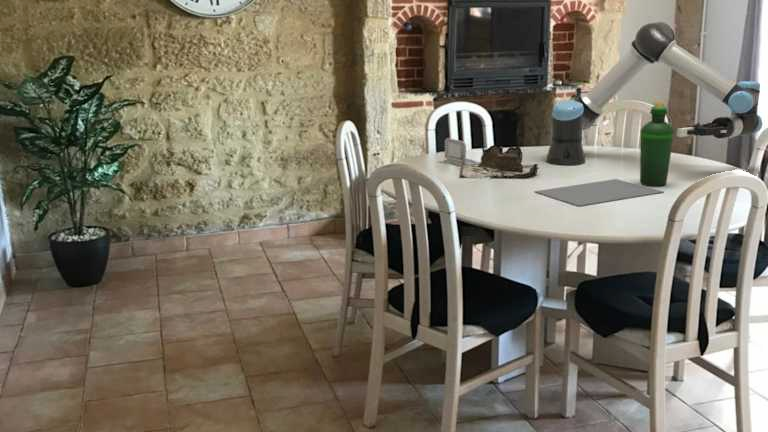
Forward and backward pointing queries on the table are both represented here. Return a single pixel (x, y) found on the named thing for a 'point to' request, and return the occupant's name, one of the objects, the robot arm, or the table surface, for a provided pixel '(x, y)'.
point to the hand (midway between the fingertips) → (678, 132)
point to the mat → (598, 192)
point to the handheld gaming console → (457, 153)
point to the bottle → (656, 148)
